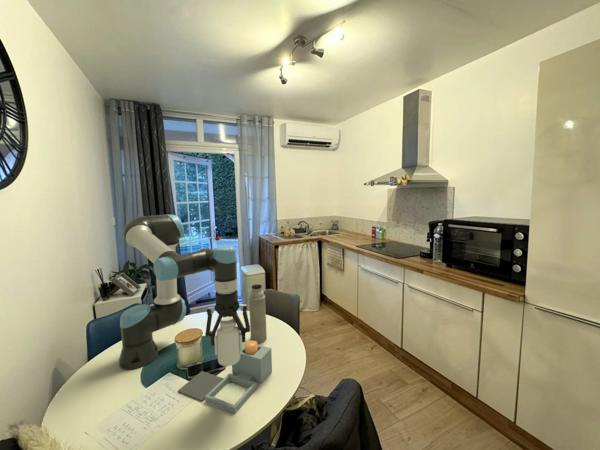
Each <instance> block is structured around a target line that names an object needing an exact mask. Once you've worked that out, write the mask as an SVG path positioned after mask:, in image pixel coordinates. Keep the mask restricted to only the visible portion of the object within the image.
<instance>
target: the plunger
mask: <svg viewBox="0 0 600 450" xmlns="http://www.w3.org/2000/svg"><path fill="white" fill-rule="evenodd" d="M245 342H246V343H245V353H246V354H250V355H254V354H255V353H256V352H257V351H258V346H257V345H258V343H257V342H256V341H251V340H247V341H245Z"/></svg>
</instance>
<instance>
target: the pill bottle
mask: <svg viewBox="0 0 600 450" xmlns="http://www.w3.org/2000/svg"><path fill="white" fill-rule="evenodd" d="M219 326H220V327H218V329H217V331H216V334H217V351H218V355H217V362H218V364H219V365H220V366H223V367H230V366H231V367H232V365H234V364H236V363H237V362H238V361H239V360H240V330H239V328H238V326H237V324H236V322H235V320H234V319H233V317H224V318H222V319H221V321H220V324H219Z"/></svg>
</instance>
